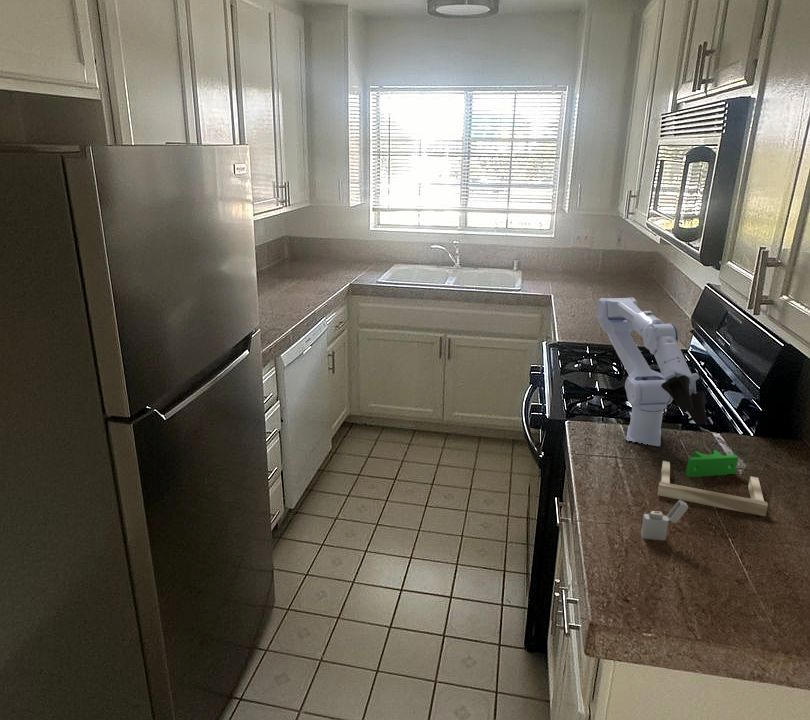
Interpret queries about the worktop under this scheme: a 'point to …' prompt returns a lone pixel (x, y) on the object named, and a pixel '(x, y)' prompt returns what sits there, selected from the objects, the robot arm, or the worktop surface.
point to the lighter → (661, 521)
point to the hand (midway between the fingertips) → (694, 416)
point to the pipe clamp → (711, 464)
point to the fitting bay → (714, 495)
